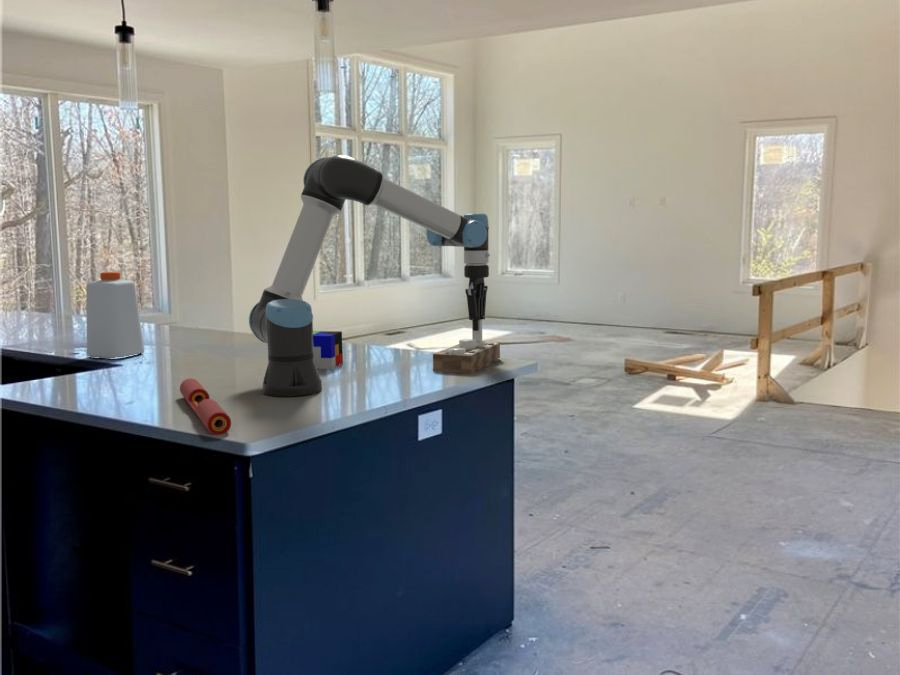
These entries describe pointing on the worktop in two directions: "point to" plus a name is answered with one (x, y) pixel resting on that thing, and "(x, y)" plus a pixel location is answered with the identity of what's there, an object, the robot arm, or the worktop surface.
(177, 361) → the worktop surface
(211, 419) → the blood vessel
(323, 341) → the puzzle toy
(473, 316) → the robot arm
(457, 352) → the left button
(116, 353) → the plastic bottle
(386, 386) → the worktop surface
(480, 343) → the right button
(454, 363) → the button panel
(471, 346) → the middle button
